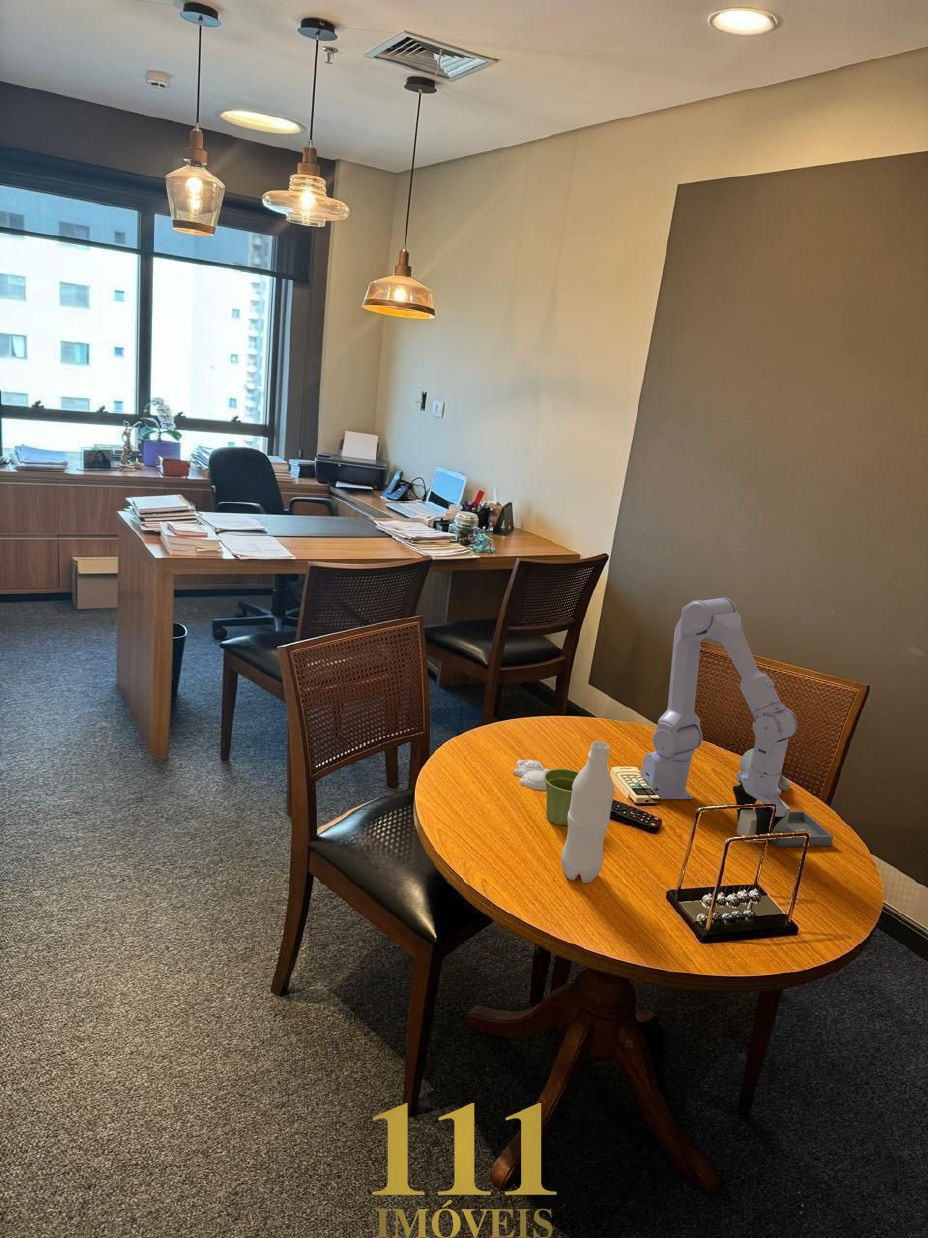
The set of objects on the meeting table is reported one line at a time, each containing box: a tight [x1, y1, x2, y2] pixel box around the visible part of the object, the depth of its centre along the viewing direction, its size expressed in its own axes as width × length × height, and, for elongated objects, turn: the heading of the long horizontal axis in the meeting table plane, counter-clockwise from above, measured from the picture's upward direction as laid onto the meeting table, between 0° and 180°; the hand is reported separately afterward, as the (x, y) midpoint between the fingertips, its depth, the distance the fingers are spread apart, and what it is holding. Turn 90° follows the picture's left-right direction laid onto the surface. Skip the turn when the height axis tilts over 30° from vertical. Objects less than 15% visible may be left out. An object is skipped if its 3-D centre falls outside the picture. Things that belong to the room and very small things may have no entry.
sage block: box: [761, 799, 792, 831], centre depth 168 cm, size 4×4×5 cm
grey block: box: [736, 809, 766, 843], centre depth 164 cm, size 4×4×5 cm
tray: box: [769, 810, 834, 848], centre depth 167 cm, size 12×10×2 cm
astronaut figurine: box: [513, 759, 551, 791], centre depth 180 cm, size 9×12×3 cm
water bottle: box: [560, 740, 615, 884], centre depth 142 cm, size 7×7×25 cm
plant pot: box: [544, 768, 580, 827], centre depth 163 cm, size 9×9×9 cm
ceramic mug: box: [739, 747, 791, 792], centre depth 187 cm, size 11×8×8 cm
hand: (751, 830), depth 164 cm, fingers open, 6 cm apart
